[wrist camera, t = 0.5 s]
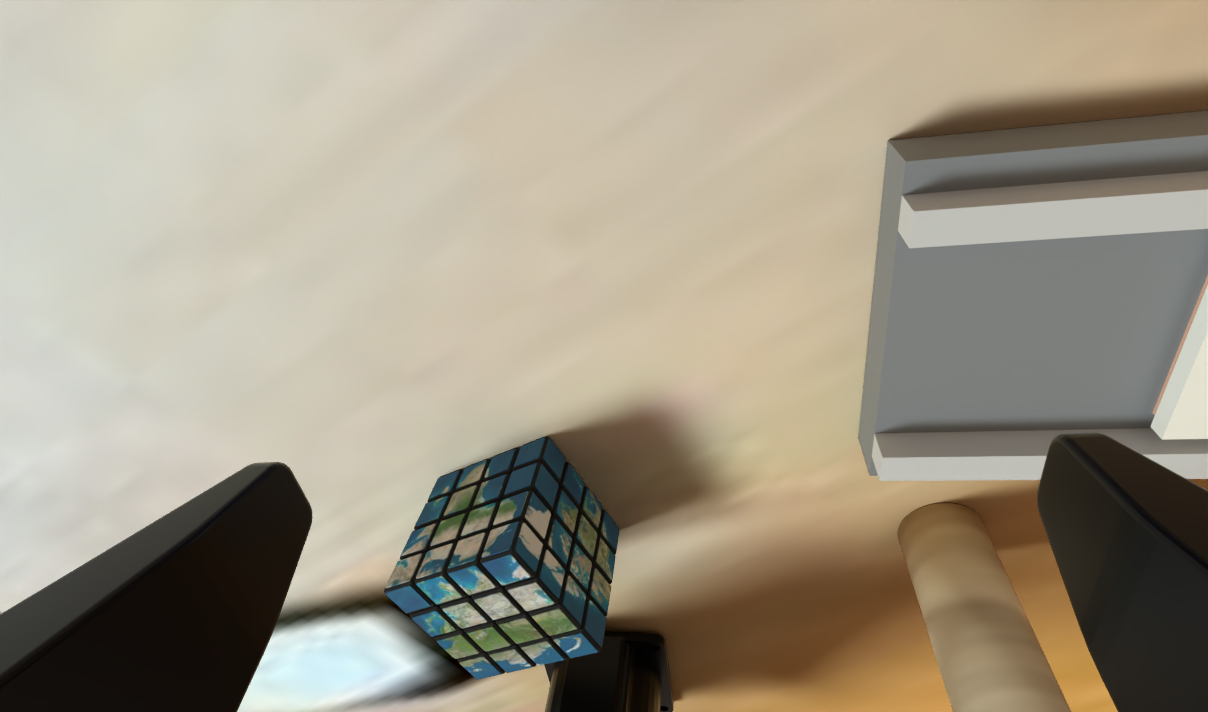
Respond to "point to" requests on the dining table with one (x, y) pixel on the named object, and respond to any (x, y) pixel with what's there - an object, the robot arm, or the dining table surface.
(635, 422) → the dining table surface
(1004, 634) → the maple pin
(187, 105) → the dining table surface
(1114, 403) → the grey sliding panel frame
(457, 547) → the puzzle
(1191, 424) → the shutter
